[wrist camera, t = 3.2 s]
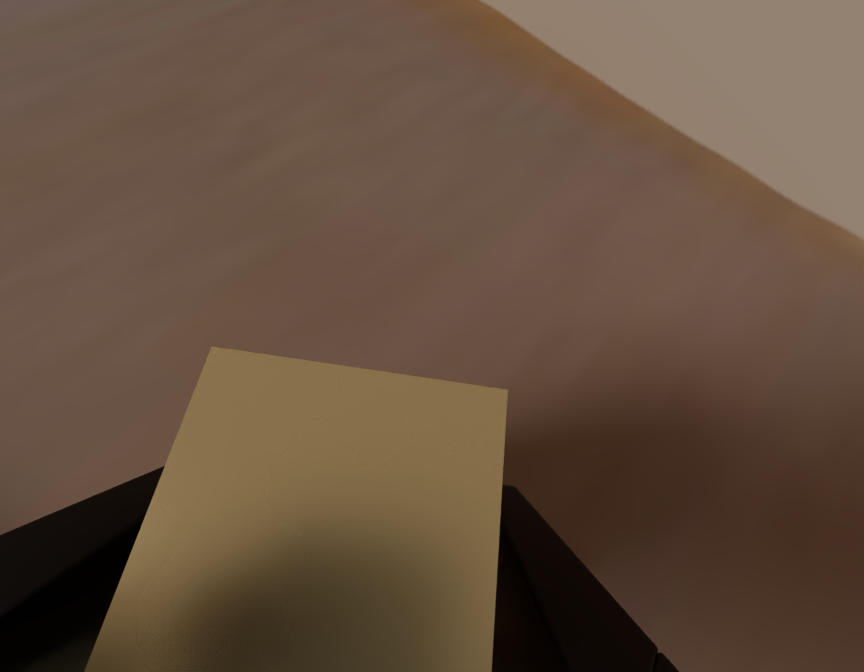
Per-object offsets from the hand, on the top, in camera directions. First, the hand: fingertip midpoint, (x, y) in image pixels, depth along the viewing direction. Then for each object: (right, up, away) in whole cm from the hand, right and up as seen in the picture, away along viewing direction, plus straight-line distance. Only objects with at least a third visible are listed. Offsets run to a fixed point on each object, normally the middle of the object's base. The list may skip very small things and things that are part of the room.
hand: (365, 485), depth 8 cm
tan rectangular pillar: (-1, -4, +5) cm, 7 cm away
